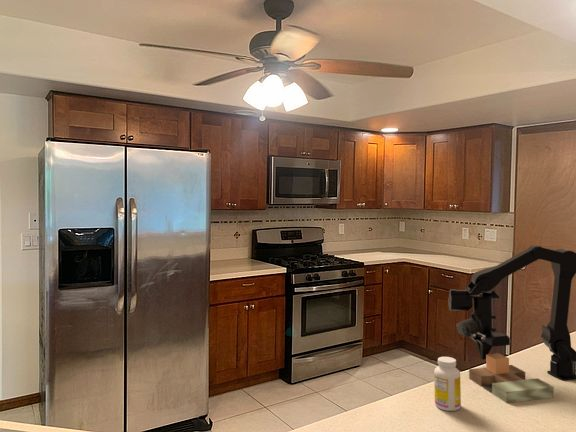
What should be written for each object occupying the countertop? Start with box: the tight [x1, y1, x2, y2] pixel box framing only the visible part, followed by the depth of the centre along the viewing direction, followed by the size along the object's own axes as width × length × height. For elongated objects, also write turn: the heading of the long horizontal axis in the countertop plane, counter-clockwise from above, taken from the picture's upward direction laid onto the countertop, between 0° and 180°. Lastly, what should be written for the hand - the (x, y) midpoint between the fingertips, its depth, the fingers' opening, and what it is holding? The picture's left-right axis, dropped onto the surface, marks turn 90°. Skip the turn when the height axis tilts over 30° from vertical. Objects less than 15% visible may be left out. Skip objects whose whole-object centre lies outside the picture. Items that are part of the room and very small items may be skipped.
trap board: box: [468, 364, 555, 404], centre depth 130 cm, size 15×17×3 cm
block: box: [485, 352, 510, 374], centre depth 135 cm, size 4×4×4 cm
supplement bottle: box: [433, 356, 462, 412], centre depth 119 cm, size 7×7×13 cm
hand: (483, 359), depth 142 cm, fingers closed
